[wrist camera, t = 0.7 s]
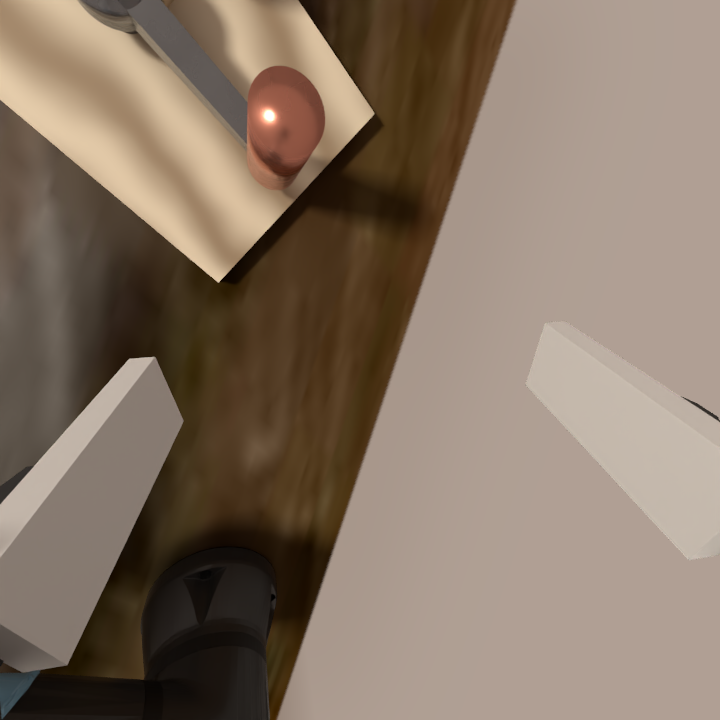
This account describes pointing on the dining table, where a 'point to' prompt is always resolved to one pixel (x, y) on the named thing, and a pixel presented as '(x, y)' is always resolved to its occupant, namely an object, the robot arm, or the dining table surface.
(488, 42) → the dining table surface
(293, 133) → the lever
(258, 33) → the tapered cream board
